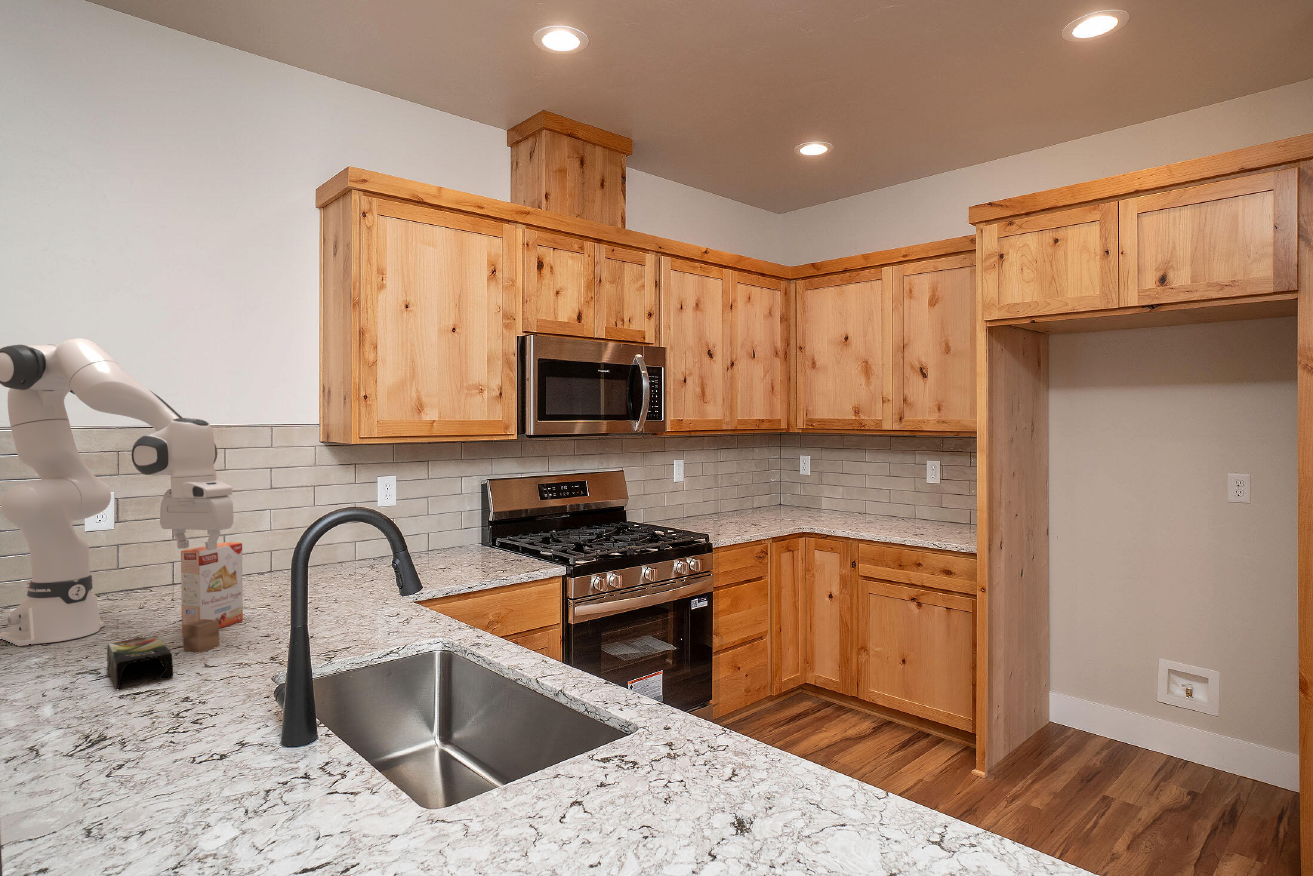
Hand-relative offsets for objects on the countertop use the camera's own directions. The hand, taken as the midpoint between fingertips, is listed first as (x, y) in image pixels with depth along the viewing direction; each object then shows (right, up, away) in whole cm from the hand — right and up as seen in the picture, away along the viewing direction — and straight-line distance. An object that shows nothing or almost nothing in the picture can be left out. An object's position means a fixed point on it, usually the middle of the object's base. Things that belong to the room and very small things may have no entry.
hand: (197, 549), depth 164 cm
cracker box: (-8, -23, +18) cm, 31 cm away
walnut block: (+1, -23, 0) cm, 23 cm away
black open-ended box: (-2, -24, -16) cm, 29 cm away
